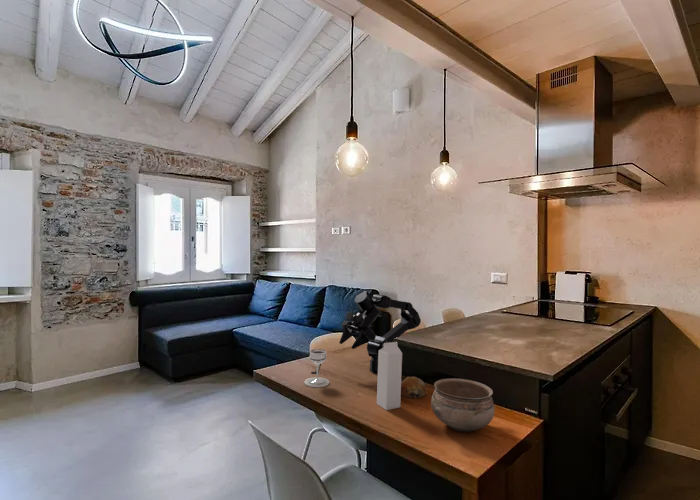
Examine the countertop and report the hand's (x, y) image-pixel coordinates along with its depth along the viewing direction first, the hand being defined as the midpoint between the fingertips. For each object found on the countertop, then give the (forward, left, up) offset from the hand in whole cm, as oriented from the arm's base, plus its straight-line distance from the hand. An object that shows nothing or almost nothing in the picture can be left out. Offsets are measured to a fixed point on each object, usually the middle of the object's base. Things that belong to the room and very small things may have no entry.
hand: (346, 345), depth 162 cm
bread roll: (-21, +21, -14) cm, 33 cm away
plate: (+13, +4, -14) cm, 19 cm away
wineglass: (+13, +3, -13) cm, 18 cm away
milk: (-7, +31, -14) cm, 34 cm away
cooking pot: (-24, +51, -14) cm, 58 cm away
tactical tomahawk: (+7, -18, -14) cm, 24 cm away
